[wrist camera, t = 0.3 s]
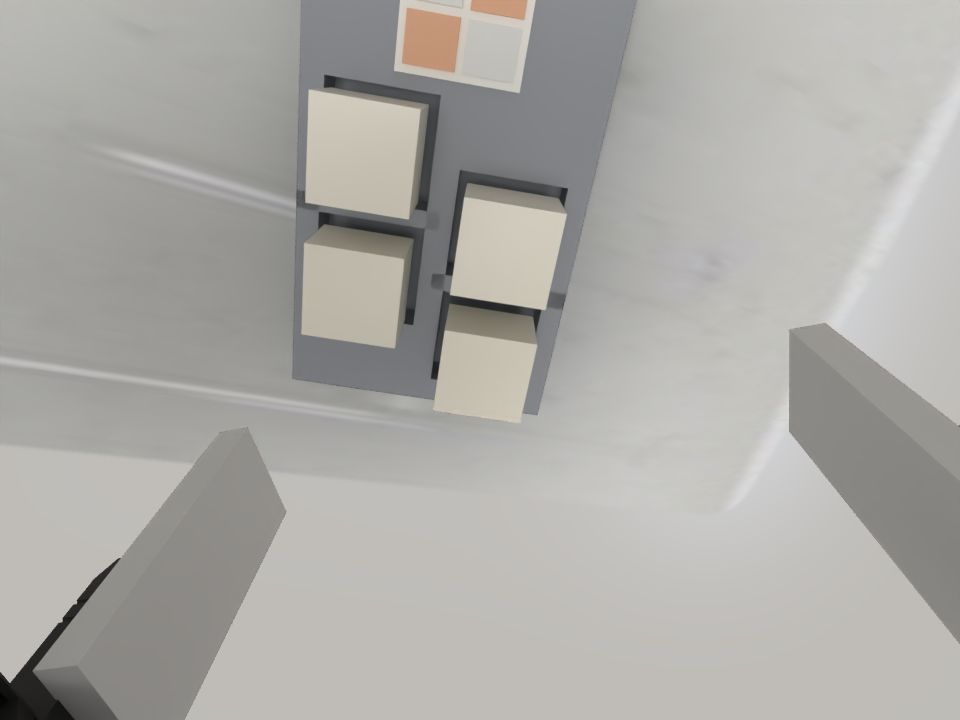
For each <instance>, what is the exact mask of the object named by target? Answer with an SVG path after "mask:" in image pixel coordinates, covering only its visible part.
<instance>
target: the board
mask: <svg viewBox="0 0 960 720" xmlns="http://www.w3.org/2000/svg"><path fill="white" fill-rule="evenodd" d="M636 1H637V0H301V33H300V75H299V118H298V161H297V203H296V246H295V289H294V331H293V374H292V379H296V380H303V381H310V382H316V383H323V384H330V385H337V386H343V387H350V388H357V389H364V390H370V391H377V392H384V393H391V394H397V395H404V396H411V397H418V398H424V399H431V400H435V393H436V386H437V379H438V372H439V366H440V359H441V352H442V345H443V338H444V332H445V326H446V320H447V315H448V309H449V304H455V305H462V306H468V307H474V308H481V309H487V310H493V311H500V312H506V313H512V314H519V315H525V316H531V317H533V320H534V326H535V332H536V338H537V344H538V345H537V350H536V354H535V359H534V363H533V367H532V372H531V376H530V381H529V385H528V390H527V394H526V399H525V403H524V407H523V412H522V413H525V414H532V415H537V414H538V410H539V406H540V402H541V398H542V393H543V389H544V385H545V381H546V377H547V373H548V368H549V364H550V360H551V356H552V352H553V347H554V343H555V339H556V335H557V331H558V327H559V322H560V318H561V314H562V310H563V306H564V301H565V297H566V293H567V289H568V285H569V281H570V276H571V272H572V268H573V264H574V260H575V255H576V251H577V247H578V243H579V239H580V235H581V230H582V226H583V222H584V218H585V214H586V210H587V205H588V201H589V197H590V193H591V189H592V184H593V180H594V176H595V172H596V168H597V164H598V159H599V155H600V151H601V147H602V143H603V138H604V134H605V130H606V126H607V122H608V118H609V113H610V109H611V105H612V101H613V97H614V92H615V88H616V84H617V80H618V76H619V72H620V67H621V63H622V59H623V55H624V51H625V47H626V42H627V38H628V34H629V30H630V26H631V21H632V17H633V13H634V9H635V5H636ZM329 87H332V88H338V89H343V90H349V91H355V92H360V93H366V94H372V95H377V96H383V97H389V98H394V99H400V100H406V101H411V102H417V103H423V104H429V110H428V119H427V128H426V136H425V145H424V154H423V163H422V172H421V180H420V189H419V198H418V204H417V206H416V207H415V209H414V211H413V213H412V215H411V216H410V218H409V220H408V219H402V218H396V217H390V216H384V215H378V214H372V213H366V212H360V211H353V210H347V209H341V208H335V207H329V206H323V205H317V204H311V203H305V195H306V162H307V128H308V95H309V89H319V88H329ZM467 183H472V184H478V185H484V186H489V187H495V188H501V189H507V190H513V191H519V192H525V193H531V194H537V195H543V196H549V197H554V198H559V200H560V202H561V204H562V206H563V208H564V209H565V211H566V213H567V217H566V221H565V226H564V230H563V235H562V239H561V243H560V248H559V252H558V257H557V261H556V266H555V270H554V274H553V279H552V283H551V288H550V292H549V297H548V301H547V305H546V310H541V309H535V308H528V307H522V306H516V305H509V304H503V303H497V302H491V301H484V300H478V299H472V298H465V297H459V296H453V295H450V291H451V284H452V277H453V270H454V263H455V257H456V250H457V243H458V236H459V229H460V223H461V216H462V209H463V202H464V196H465V191H466V187H467ZM324 224H327V225H333V226H339V227H345V228H351V229H357V230H363V231H369V232H376V233H382V234H388V235H394V236H400V237H406V238H412V239H414V242H413V251H412V260H411V269H410V278H409V286H408V295H407V304H406V313H405V321H404V324H403V327H402V329H401V332H400V335H399V338H398V341H397V344H396V347H395V349H394V348H388V347H381V346H374V345H368V344H361V343H355V342H348V341H342V340H335V339H329V338H322V337H315V336H309V335H302V334H301V329H302V296H303V262H304V243H305V242H306V241H307V240H308V239H309V238H310V237H311V236H312V235H313V234H314V233H316V232H317V231H318V230H319V229H320V228H321V227H322V226H323V225H324Z"/></svg>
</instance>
